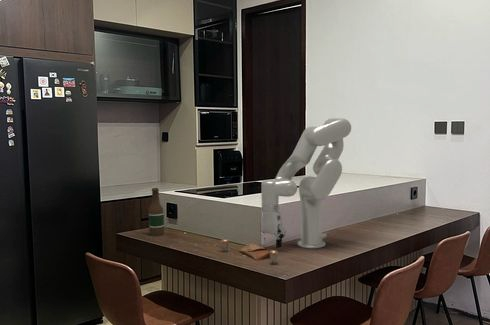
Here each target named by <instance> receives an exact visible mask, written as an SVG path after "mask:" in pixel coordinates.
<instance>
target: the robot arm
mask: <svg viewBox="0 0 490 325" xmlns="http://www.w3.org/2000/svg"><path fill="white" fill-rule="evenodd" d="M351 131H352V124H351V122H350V121H349V120H348V119H346V118H342V117H341V118H335V117H334V118H328V119H327V120H325V121H324V123H323V125H321V126H308V127H306V128H305V129H304V130H303V132H302V134H301V136H300V138H299V139H298V142H297V144H296V146H295V148H294V150H293V152H292V154H291V155H290V156H289V158H287V160H286V161H285V162H284V163H283V164H282V166H281V167H280V168H279V170H278V172H277V174H276V176H275V178H274V179H265V180H263V181H262V182H261V210H262V212H263V217H262V222H261V232H263V233H264V234H269V235H273V236H275V238H276V239H275V248H276V249H280V248H282V247H283V239H284V237H285V236H286V233H287V229H286V228H285V227H283V220H282V214H281V211H280V210H281V207H280V204H279V200H280V199H279V197H286V198H287V197H288V198H290V197H293V196H294V195H295V194H297V191H298V195H299V200H300V240H298V241H297V246H298V247H301V248H305V249H320V248H323V247H325V246H326V242H325V241H324V240H323V239H324V238H327V233H325V232H324V233H323V227H322V226H323V222H322V220H323V217H322V215H323V210H322V208H323V206H322V205H323V204H322V201H324V200H325V199H327V198H328V197H329V196H330V194H331V193H332V191H333V190H334V187H335V186H336V184H337V183H338V181H339V179H340V178H341V176H342V173H343V172H342V171H343V166H342V162H341V161H340V160H339V159H340V157H341V155H342V153H343V151H344V146H345V145H344V138H346V137H348V136H349V135H350V133H351ZM322 146H323V148H322V149H321V151H320V152H319V155H318V156H317V158H316V159H315V161H314V163H313V164H312V165H313V166H312V170H313V173H314V174H315V175H316V177H315V176H312V175H311V176H309V175H308V176H305V177H303V178H302V179H301V180H300V182H299V184H298V185H297V184H296V182H295V181H293V178H294V176H295V175H296V173H297V172H299V171H300V170H301V169H302V168H305V167H306V166H308V164H309V163H310V162H311V160H312V158H313V156H314V153H315V151H317V150H316V149H317V148H318V147H322Z"/></svg>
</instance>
